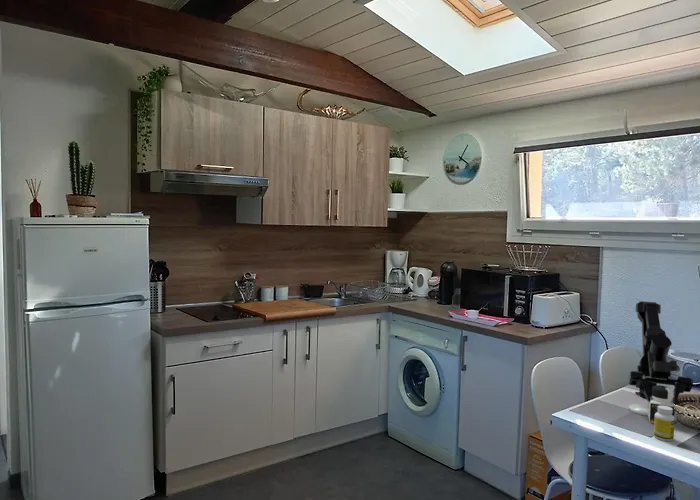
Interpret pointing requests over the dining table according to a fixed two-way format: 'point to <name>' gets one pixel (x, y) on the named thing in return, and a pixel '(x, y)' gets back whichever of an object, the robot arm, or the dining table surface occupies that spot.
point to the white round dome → (639, 409)
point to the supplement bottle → (664, 424)
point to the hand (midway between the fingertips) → (662, 403)
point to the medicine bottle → (660, 400)
